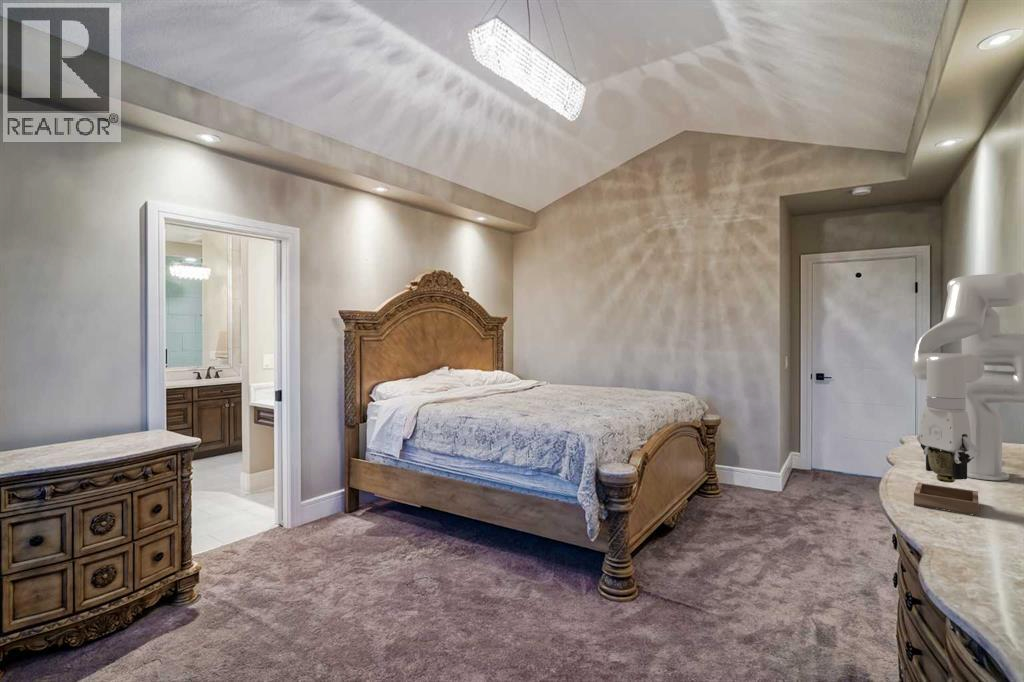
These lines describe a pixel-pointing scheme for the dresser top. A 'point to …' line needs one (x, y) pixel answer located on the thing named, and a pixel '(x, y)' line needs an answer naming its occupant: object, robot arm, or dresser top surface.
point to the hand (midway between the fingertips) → (945, 474)
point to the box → (946, 498)
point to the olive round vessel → (942, 464)
